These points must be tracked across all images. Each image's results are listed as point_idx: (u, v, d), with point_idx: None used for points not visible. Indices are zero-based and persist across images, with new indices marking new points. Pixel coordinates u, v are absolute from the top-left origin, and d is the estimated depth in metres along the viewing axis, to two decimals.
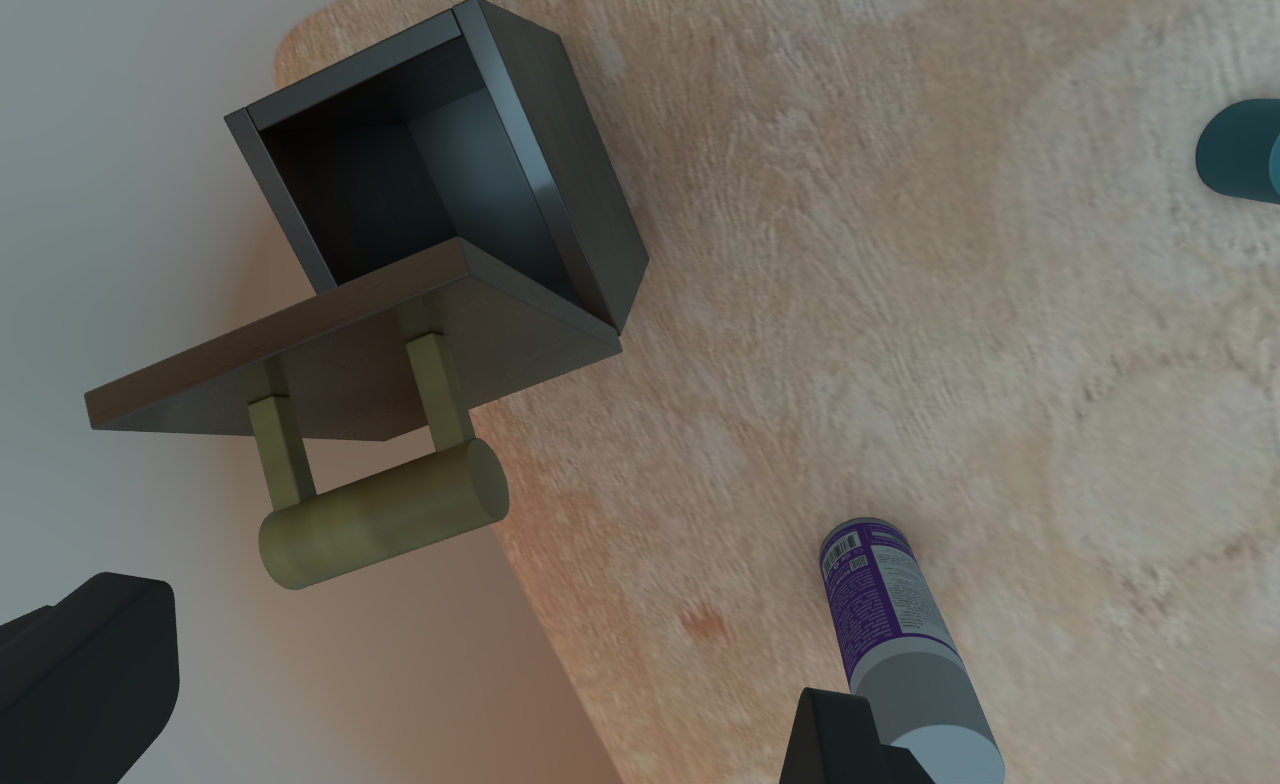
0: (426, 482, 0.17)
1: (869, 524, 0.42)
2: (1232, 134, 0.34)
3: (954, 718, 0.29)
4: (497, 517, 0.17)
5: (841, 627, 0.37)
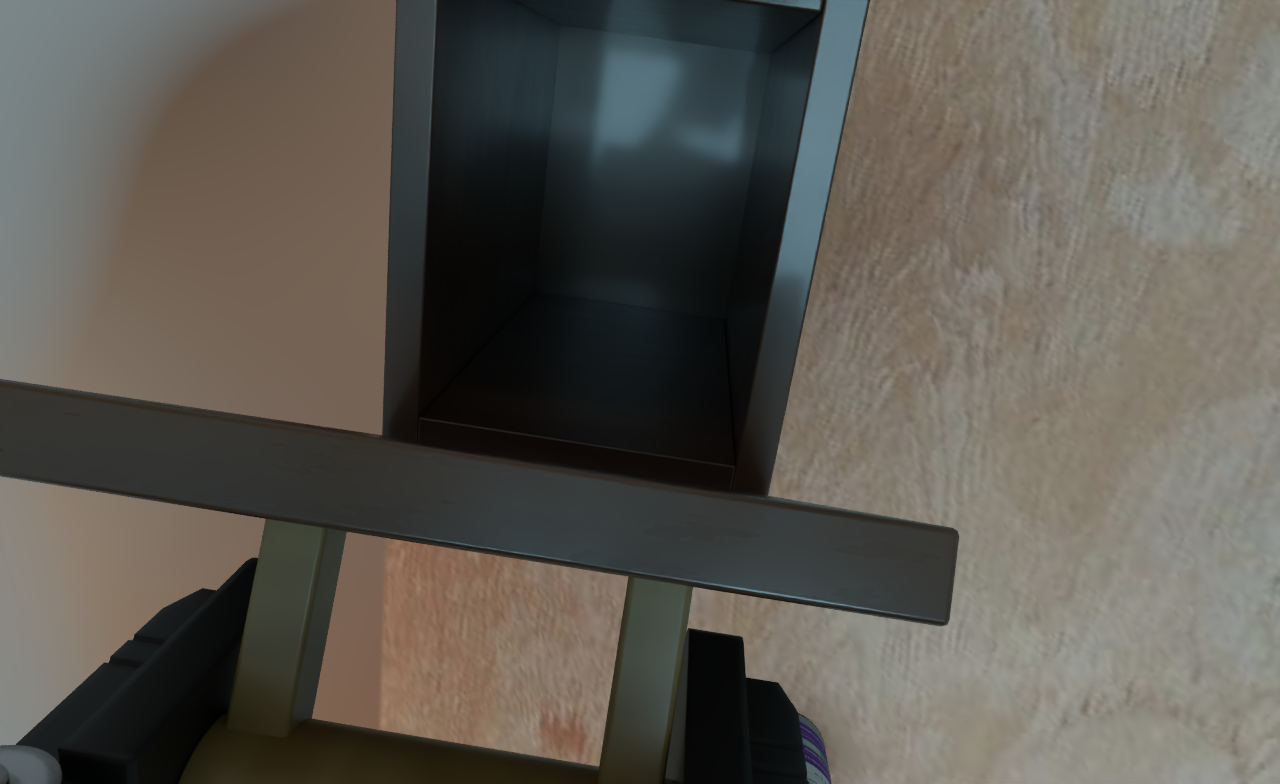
0: None
1: (801, 725, 0.36)
2: None
3: None
4: None
5: None
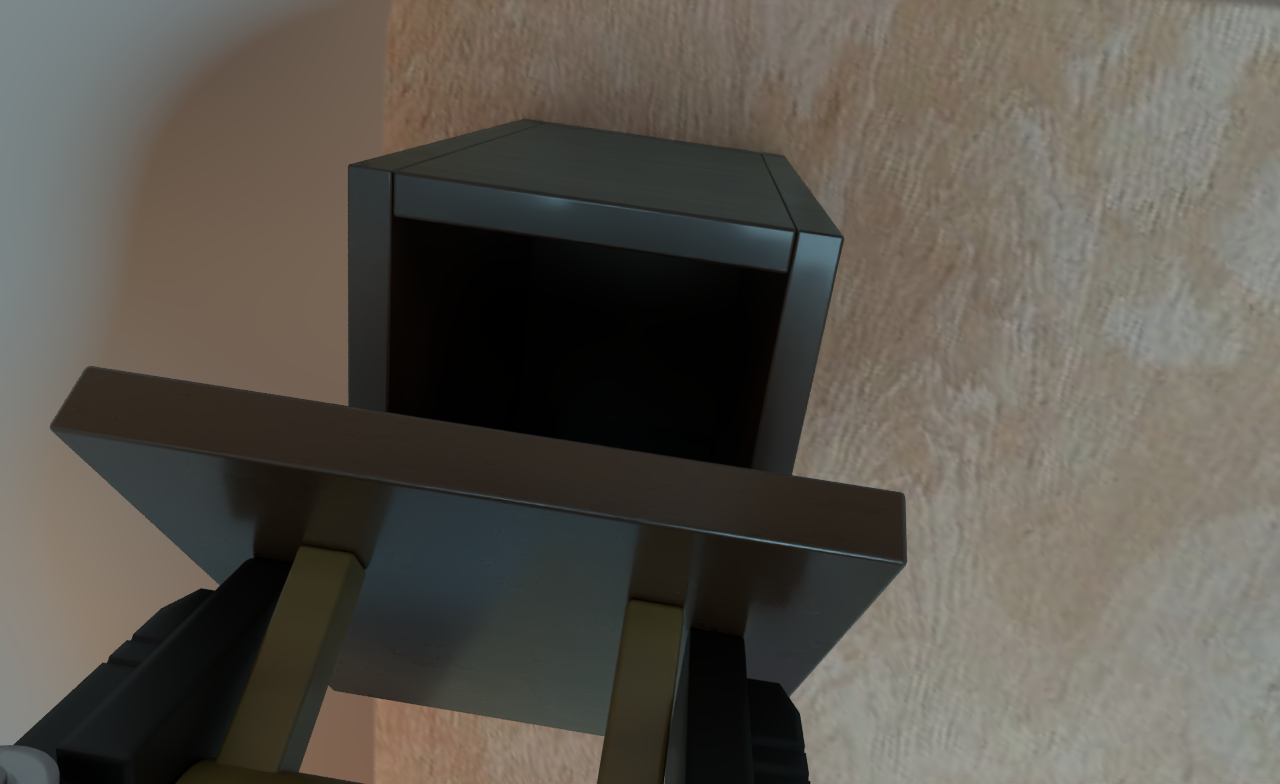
0: None
1: None
2: None
3: None
4: None
5: None
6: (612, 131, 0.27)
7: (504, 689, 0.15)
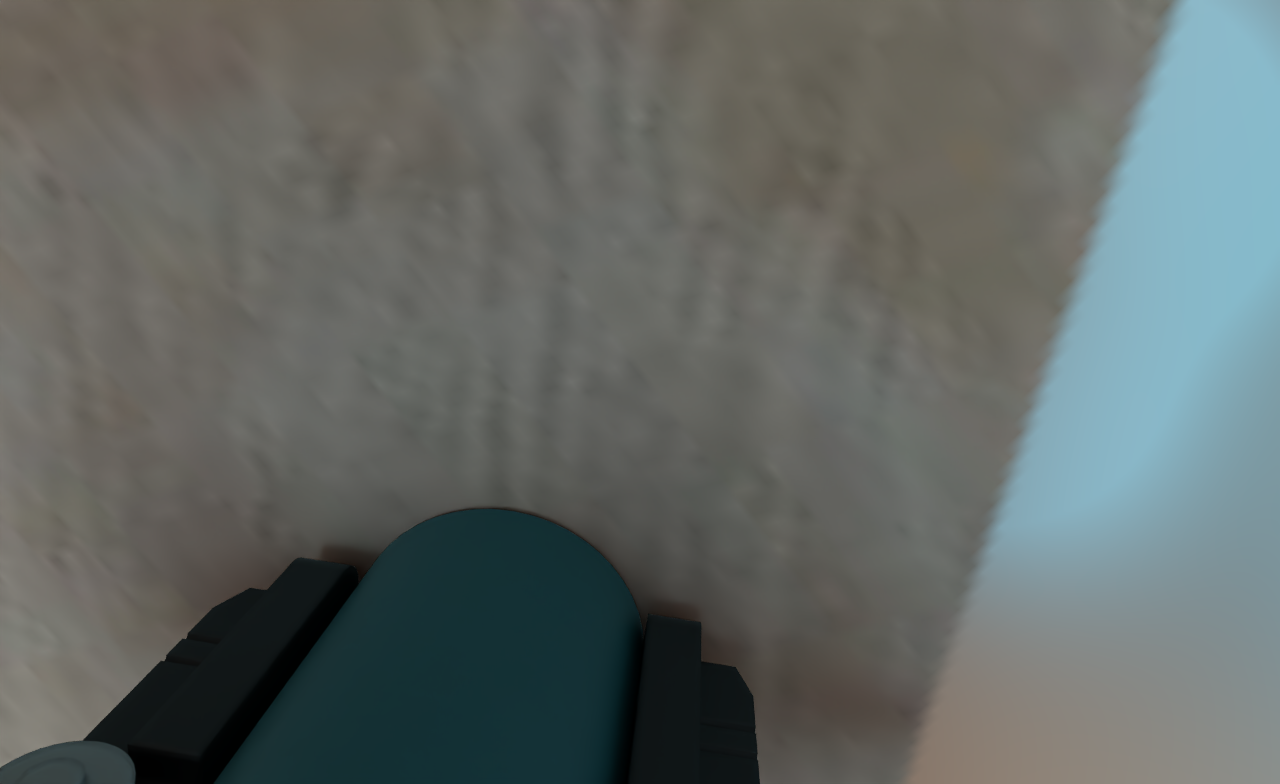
0: None
1: None
2: (326, 635, 0.09)
3: None
4: None
5: None
6: None
7: None
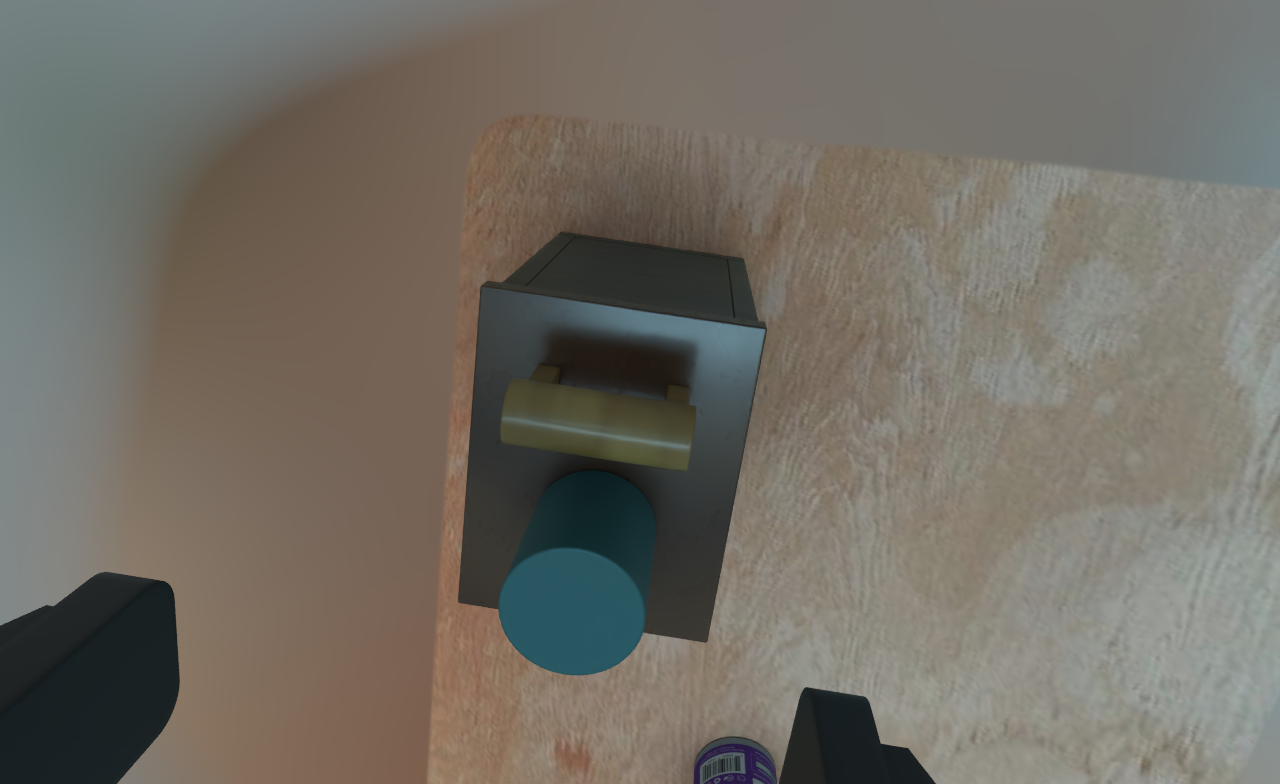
0: (661, 400, 0.22)
1: (756, 751, 0.47)
2: (540, 514, 0.25)
3: None
4: (692, 443, 0.21)
5: None
6: (623, 241, 0.38)
7: None
